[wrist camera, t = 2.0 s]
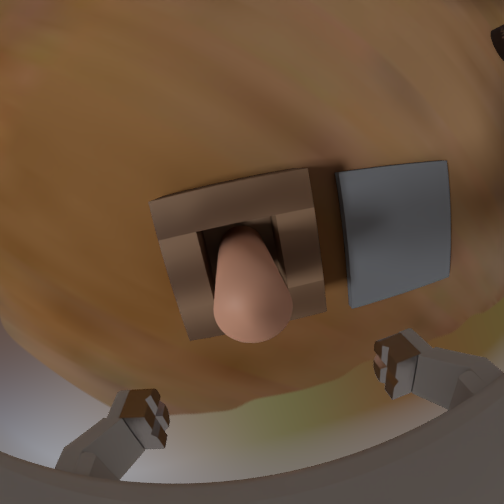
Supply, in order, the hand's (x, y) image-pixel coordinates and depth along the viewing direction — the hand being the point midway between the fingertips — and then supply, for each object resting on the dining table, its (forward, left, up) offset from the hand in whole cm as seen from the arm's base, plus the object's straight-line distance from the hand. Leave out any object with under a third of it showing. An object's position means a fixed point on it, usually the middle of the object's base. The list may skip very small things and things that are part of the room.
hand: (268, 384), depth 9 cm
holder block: (0, 0, -18) cm, 18 cm away
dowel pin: (0, 0, -17) cm, 17 cm away
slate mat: (+2, +17, -18) cm, 25 cm away
